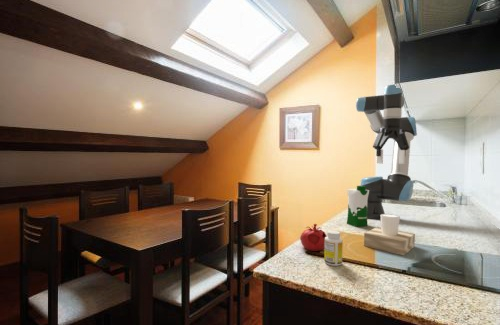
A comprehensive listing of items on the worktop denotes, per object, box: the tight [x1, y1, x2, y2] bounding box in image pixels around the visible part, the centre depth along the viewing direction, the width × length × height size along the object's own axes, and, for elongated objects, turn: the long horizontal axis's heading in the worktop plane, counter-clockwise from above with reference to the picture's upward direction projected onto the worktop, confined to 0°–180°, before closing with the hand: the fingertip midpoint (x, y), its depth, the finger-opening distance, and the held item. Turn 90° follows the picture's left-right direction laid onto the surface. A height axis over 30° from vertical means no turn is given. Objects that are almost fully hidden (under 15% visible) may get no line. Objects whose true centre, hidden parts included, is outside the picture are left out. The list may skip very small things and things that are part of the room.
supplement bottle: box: [323, 229, 344, 267], centre depth 89 cm, size 6×6×10 cm
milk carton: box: [346, 185, 369, 228], centre depth 140 cm, size 9×9×20 cm
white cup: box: [380, 213, 401, 235], centre depth 107 cm, size 7×7×7 cm
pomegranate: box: [299, 223, 327, 252], centre depth 103 cm, size 10×10×9 cm
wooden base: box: [363, 226, 416, 256], centre depth 107 cm, size 14×14×5 cm
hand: (390, 163), depth 129 cm, fingers open, 13 cm apart
